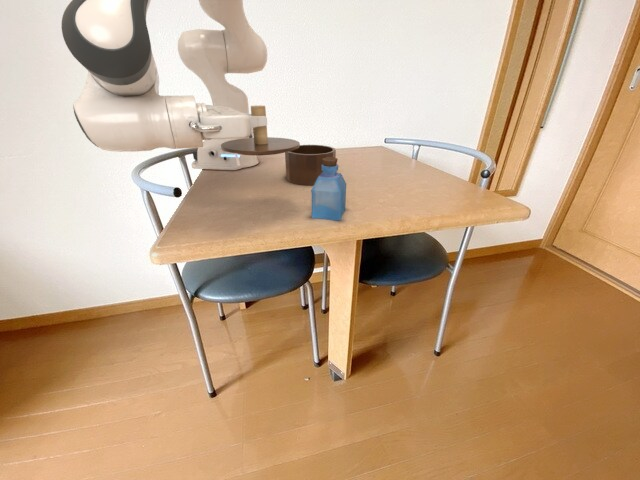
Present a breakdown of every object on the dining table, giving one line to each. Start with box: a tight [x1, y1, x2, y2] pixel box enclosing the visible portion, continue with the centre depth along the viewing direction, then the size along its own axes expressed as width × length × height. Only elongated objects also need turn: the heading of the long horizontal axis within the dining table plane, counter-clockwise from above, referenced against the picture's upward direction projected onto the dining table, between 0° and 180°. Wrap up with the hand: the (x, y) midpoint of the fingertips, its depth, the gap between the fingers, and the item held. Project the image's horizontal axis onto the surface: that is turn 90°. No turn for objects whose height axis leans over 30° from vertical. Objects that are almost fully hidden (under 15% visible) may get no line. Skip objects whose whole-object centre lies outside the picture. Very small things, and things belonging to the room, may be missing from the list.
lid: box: [221, 104, 301, 156], centre depth 59 cm, size 16×16×8 cm
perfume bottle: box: [311, 157, 347, 222], centre depth 63 cm, size 6×6×12 cm
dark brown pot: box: [284, 144, 337, 186], centre depth 88 cm, size 15×15×8 cm
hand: (263, 119), depth 59 cm, fingers closed on lid, 3 cm apart
